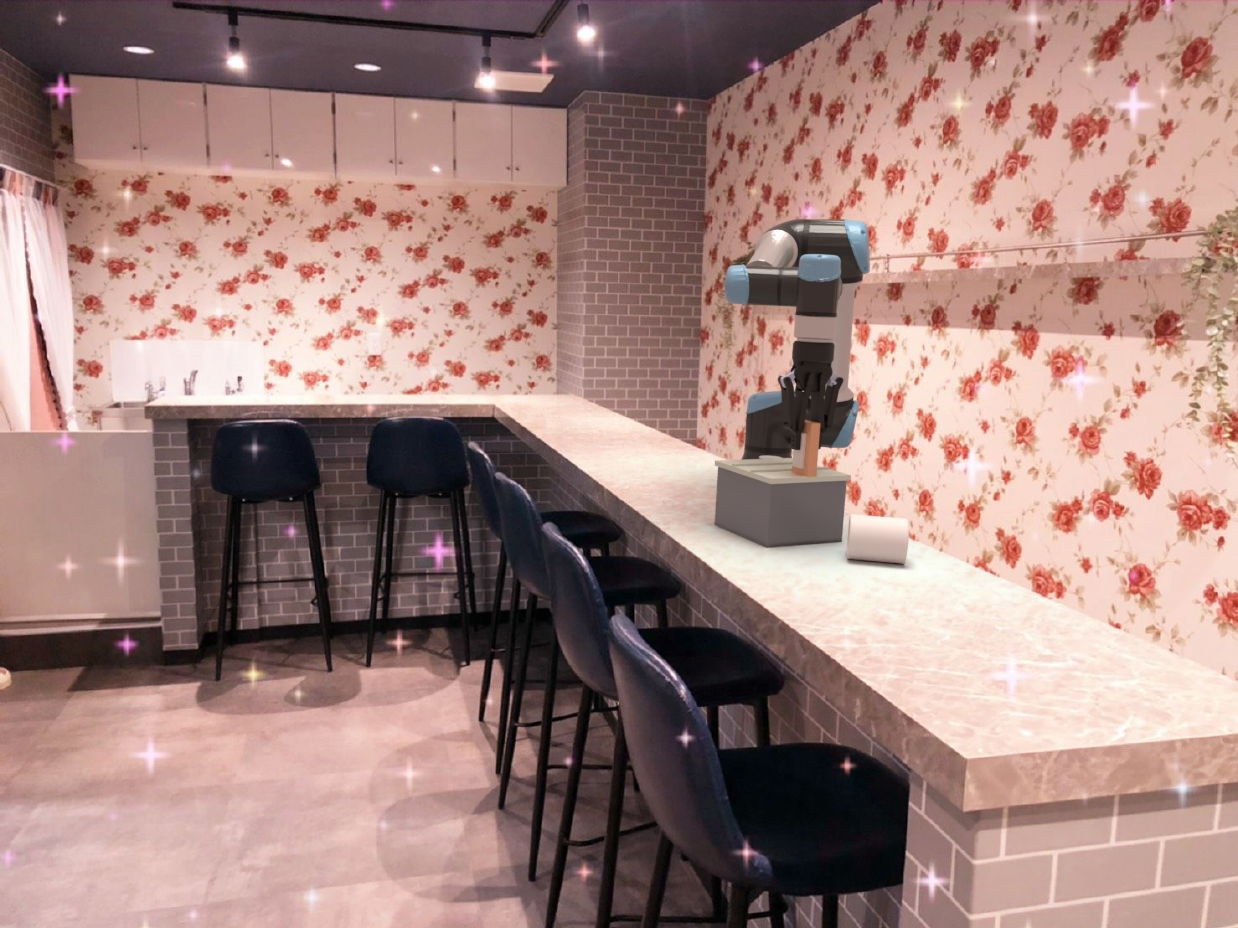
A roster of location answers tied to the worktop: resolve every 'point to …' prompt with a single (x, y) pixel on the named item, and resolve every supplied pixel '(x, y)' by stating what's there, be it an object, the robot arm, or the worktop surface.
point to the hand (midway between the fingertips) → (804, 466)
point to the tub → (780, 510)
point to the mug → (877, 539)
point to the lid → (788, 464)
